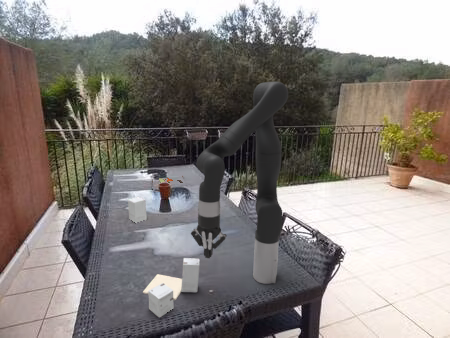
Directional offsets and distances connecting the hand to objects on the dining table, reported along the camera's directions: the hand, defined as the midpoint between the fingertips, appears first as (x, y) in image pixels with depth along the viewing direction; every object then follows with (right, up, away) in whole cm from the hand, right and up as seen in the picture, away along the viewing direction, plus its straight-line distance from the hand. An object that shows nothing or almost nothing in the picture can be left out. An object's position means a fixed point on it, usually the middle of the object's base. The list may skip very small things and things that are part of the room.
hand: (208, 257), depth 101 cm
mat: (-16, -13, +7) cm, 22 cm away
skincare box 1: (-16, -17, -4) cm, 23 cm away
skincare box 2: (-7, -14, +5) cm, 17 cm away
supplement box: (-44, +2, +63) cm, 77 cm away
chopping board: (-40, +19, +134) cm, 141 cm away
